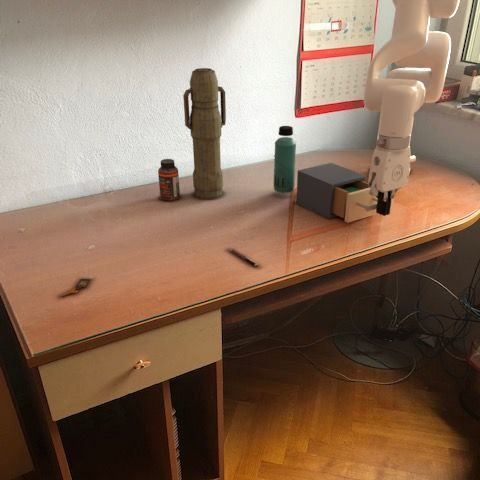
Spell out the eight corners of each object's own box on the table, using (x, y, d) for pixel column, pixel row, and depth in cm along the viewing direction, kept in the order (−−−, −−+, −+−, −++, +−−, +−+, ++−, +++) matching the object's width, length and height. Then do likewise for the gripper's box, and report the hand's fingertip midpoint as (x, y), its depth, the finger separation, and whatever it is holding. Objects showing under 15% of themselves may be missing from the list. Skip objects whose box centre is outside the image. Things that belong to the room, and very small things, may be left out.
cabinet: (362, 208, 153) (366, 175, 148) (329, 218, 147) (332, 184, 142) (328, 194, 163) (331, 162, 158) (296, 202, 157) (297, 170, 152)
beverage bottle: (294, 190, 166) (297, 123, 155) (294, 198, 160) (297, 129, 149) (273, 190, 166) (275, 123, 155) (272, 197, 161) (274, 129, 150)
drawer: (391, 219, 144) (396, 191, 140) (360, 229, 139) (364, 200, 135) (344, 199, 157) (347, 172, 153) (314, 207, 152) (316, 180, 147)
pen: (259, 267, 124) (259, 263, 123) (256, 268, 124) (256, 264, 123) (231, 250, 132) (231, 246, 131) (228, 250, 131) (228, 247, 131)
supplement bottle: (156, 200, 160) (152, 162, 154) (166, 193, 165) (163, 156, 159) (174, 202, 158) (171, 164, 152) (183, 195, 163) (181, 158, 157)
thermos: (184, 193, 165) (176, 69, 145) (218, 186, 169) (215, 65, 150) (197, 202, 158) (190, 73, 139) (232, 195, 163) (230, 69, 144)
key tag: (82, 278, 120) (81, 276, 120) (94, 280, 119) (93, 278, 119) (61, 296, 113) (60, 293, 113) (73, 298, 113) (72, 296, 112)
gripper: (382, 150, 122) (372, 225, 132) (426, 140, 129) (413, 212, 139) (359, 143, 128) (351, 215, 138) (402, 133, 134) (391, 203, 144)
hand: (382, 213), depth 138 cm, fingers closed
